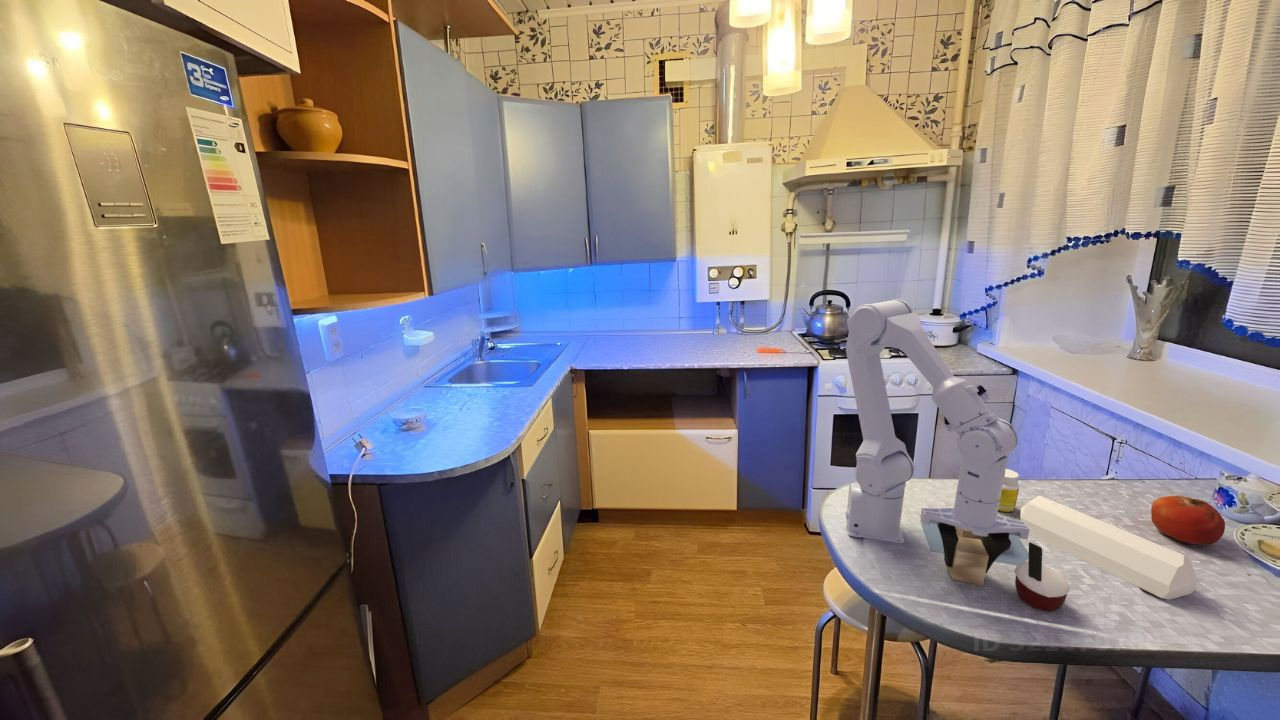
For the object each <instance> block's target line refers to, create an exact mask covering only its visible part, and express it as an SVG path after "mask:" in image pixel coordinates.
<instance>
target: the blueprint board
mask: <svg viewBox="0 0 1280 720" xmlns="http://www.w3.org/2000/svg"><path fill="white" fill-rule="evenodd" d="M919 521H920V524H921V528H922V530H923V534H924V536H925V539H926V542H927V544H928V545H927V546H928V548H929V550H930V552H934V553H939V554H944V548H943V542H942V538H941V535H940V531H939V528H938V526H937V524H934V523H930V525H926V524H923V523H922V520H921V519H919ZM1009 539H1010V541H1011V546H1010V548H1009V549H1007V551H1004V552H1003V553H1002V554H1001V555H999V556H998V557H997V559H996V560H995V561H994V562H996V563H1003V564H1009V565H1014V566H1018V565H1020V564H1022V563H1024V562H1025V561H1026V560H1028V559H1029V550H1028V549H1027V548H1026V547H1025V545H1024V543H1023V542H1022V541H1021V540H1022V539H1021V538H1019V537H1018V536H1015V535H1009Z"/></svg>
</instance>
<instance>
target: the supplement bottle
mask: <svg viewBox="0 0 1280 720" xmlns="http://www.w3.org/2000/svg"><path fill="white" fill-rule="evenodd" d="M1019 478H1020V474H1019V473H1018V472H1016V471H1014V470H1012V469H1009V468H1006V469H1005V476H1004V482H1003V487H1002V492H1001V497H1000V502H999V507H998V512H997V514H1000V515H1009V516H1010V515H1013V514H1014V513H1015V510H1016V506H1017V500H1018V495H1019V491H1020V485H1019V483H1018V482H1019V480H1020V479H1019Z"/></svg>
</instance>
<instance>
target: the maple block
mask: <svg viewBox="0 0 1280 720" xmlns="http://www.w3.org/2000/svg"><path fill="white" fill-rule="evenodd" d="M958 538H959V540H958V542H957V545H956V548H955V551H954V559H953V564H952V567H947V570H948V573H949V575H950V577H951V580H952V581H957V582H958V581H959V582H965V583H968V584H969V583H970V584H975V585H979V586H984V582H985V578H986V574H987V573H986V568H987V563H988V558H989V555H988V554H987V552H986V550H985V548H984V546H983V544H982V542H981V540H980V539H973V538H967V537H960V536H958Z"/></svg>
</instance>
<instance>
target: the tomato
mask: <svg viewBox="0 0 1280 720" xmlns="http://www.w3.org/2000/svg"><path fill="white" fill-rule="evenodd" d="M1150 513H1151V514H1150V515H1151V516H1150V517H1151V522H1152V523H1153V525H1154V526H1155V528H1156V529H1157V530H1158V531H1160V533H1162V534H1163V535H1166V536H1169V537H1172V538H1174V539H1175V540H1178V541H1179V542H1183V543H1186V544H1191V545H1201V546H1210V545H1212V544H1215V543H1216V542H1218V541H1220V539H1222V537H1223V536H1224V533H1225V531H1226V521H1225V519H1224V518H1223V517H1222V515H1221V513H1220V512H1219V511H1218V510H1217V509H1216V508H1215V507H1214V506H1212V505H1211V504H1209V503H1208V502H1207V501H1206V500H1205V501H1204V500H1202V499H1199V498H1193V497H1190V496H1187V497H1186V496H1182V495H1179V494H1176V495H1167V496H1162V497H1161V496H1160V497H1159V498H1156V499H1155V500H1153V502H1152V505H1151V509H1150Z"/></svg>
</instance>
